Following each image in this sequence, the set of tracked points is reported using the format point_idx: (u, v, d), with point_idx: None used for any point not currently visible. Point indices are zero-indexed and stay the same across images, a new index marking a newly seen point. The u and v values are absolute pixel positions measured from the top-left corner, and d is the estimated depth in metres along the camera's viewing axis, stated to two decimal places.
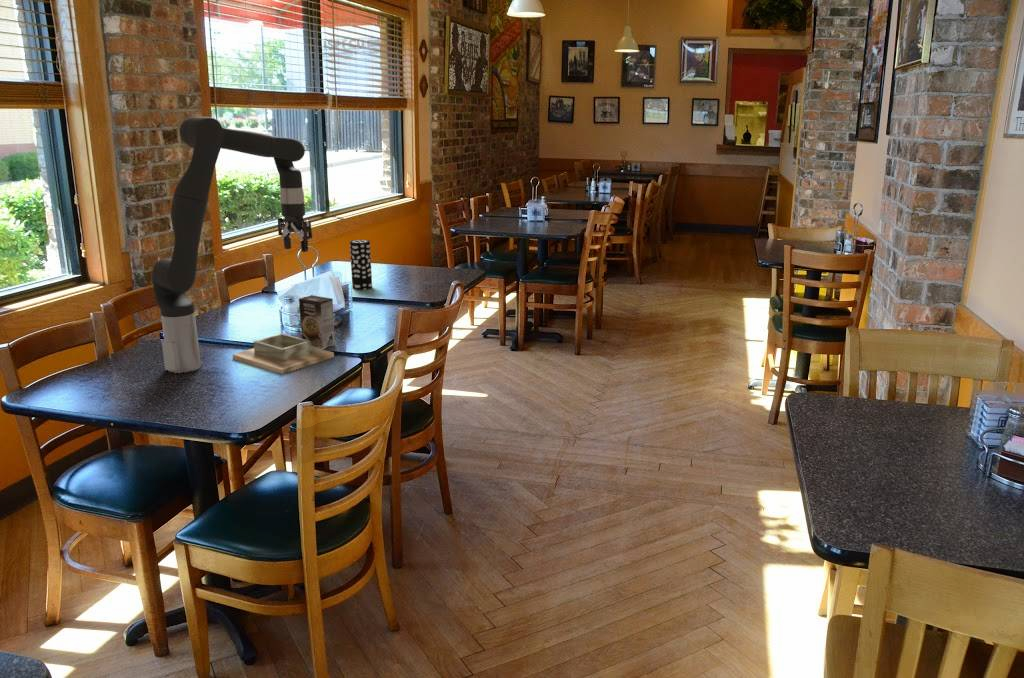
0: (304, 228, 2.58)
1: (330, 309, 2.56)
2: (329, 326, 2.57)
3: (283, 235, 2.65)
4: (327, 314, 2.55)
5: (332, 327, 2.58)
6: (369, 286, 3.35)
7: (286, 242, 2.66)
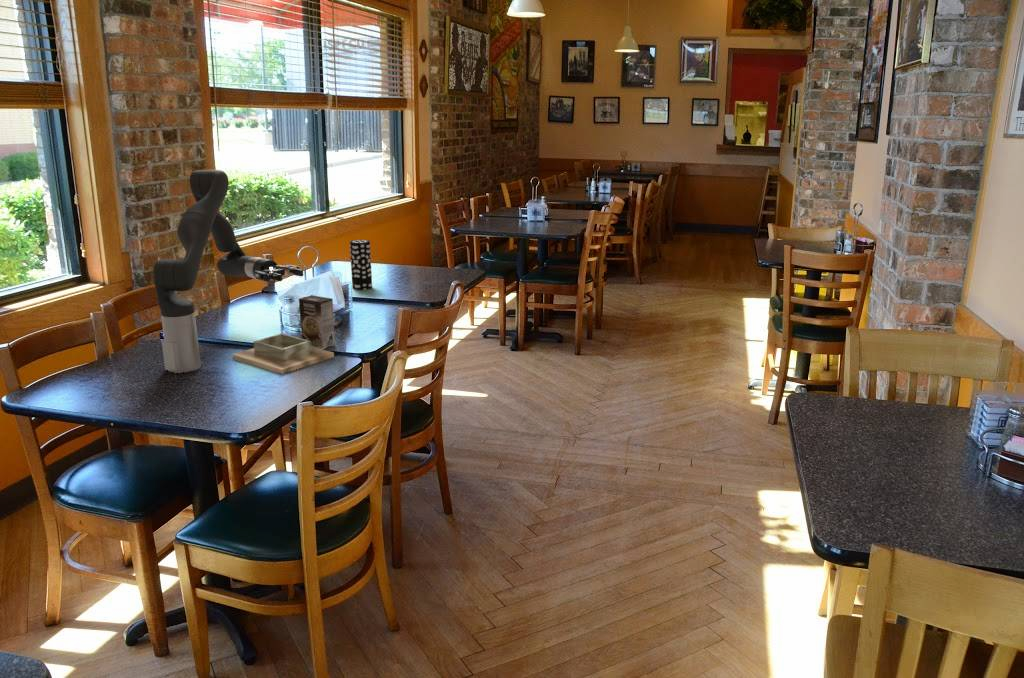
0: (291, 265, 2.69)
1: (330, 309, 2.56)
2: (329, 326, 2.57)
3: None
4: (327, 314, 2.55)
5: (332, 327, 2.58)
6: (369, 286, 3.35)
7: None
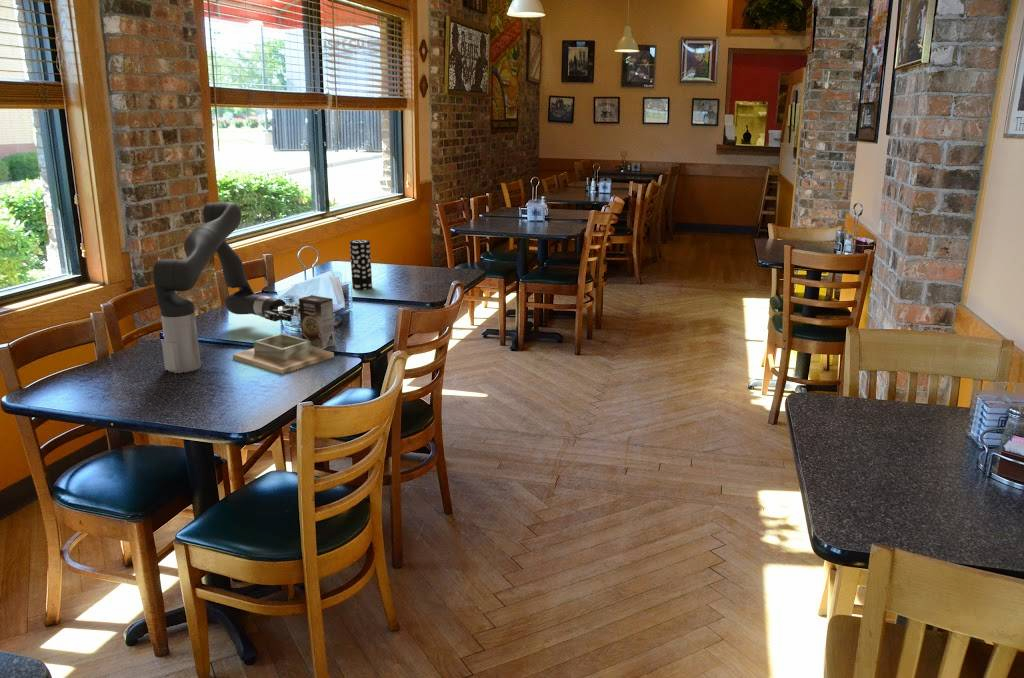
0: None
1: (330, 309, 2.56)
2: (329, 326, 2.57)
3: (280, 312, 2.61)
4: (327, 314, 2.55)
5: (332, 327, 2.58)
6: (369, 286, 3.35)
7: None
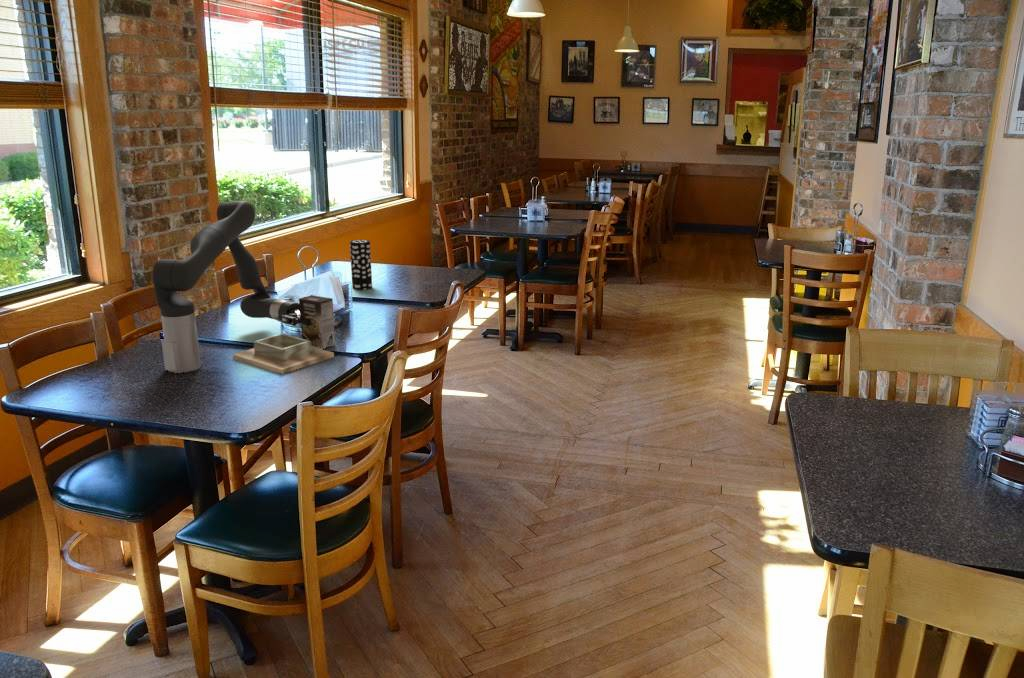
0: None
1: (330, 309, 2.56)
2: (329, 326, 2.57)
3: (299, 316, 2.56)
4: (327, 314, 2.55)
5: (332, 327, 2.58)
6: (369, 286, 3.35)
7: None
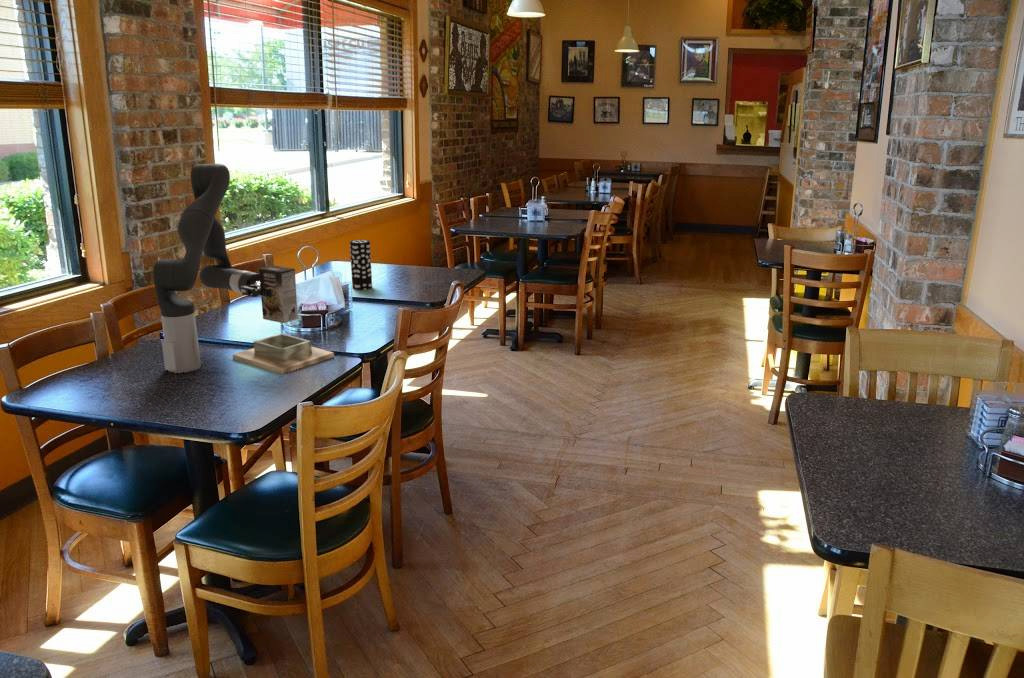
0: None
1: (292, 279, 2.40)
2: (291, 298, 2.41)
3: None
4: (289, 285, 2.39)
5: (295, 299, 2.42)
6: (369, 286, 3.35)
7: None
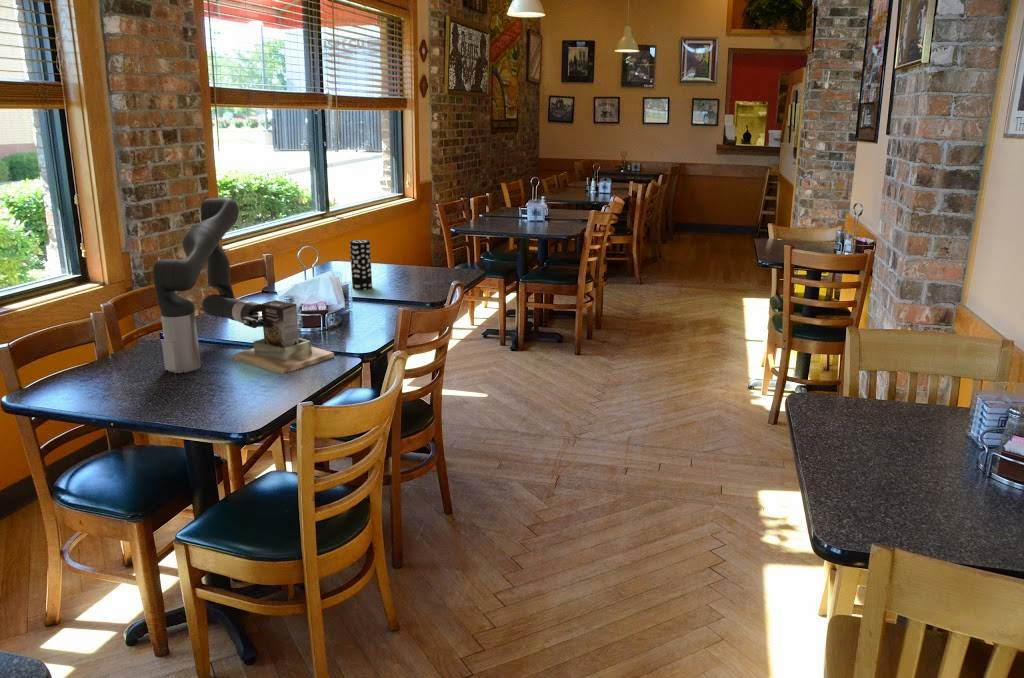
0: None
1: (294, 315, 2.43)
2: (293, 333, 2.44)
3: None
4: (291, 320, 2.42)
5: (296, 334, 2.46)
6: (369, 286, 3.35)
7: None
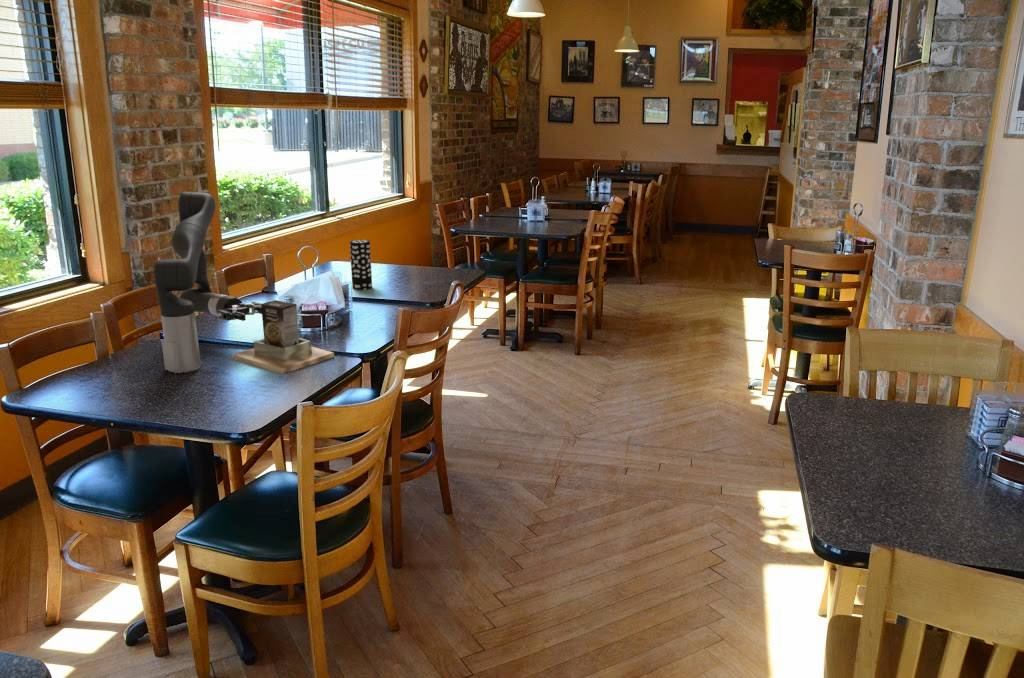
0: (256, 302, 2.60)
1: (294, 315, 2.43)
2: (293, 333, 2.44)
3: (234, 311, 2.50)
4: (291, 320, 2.42)
5: (296, 334, 2.46)
6: (369, 286, 3.35)
7: None
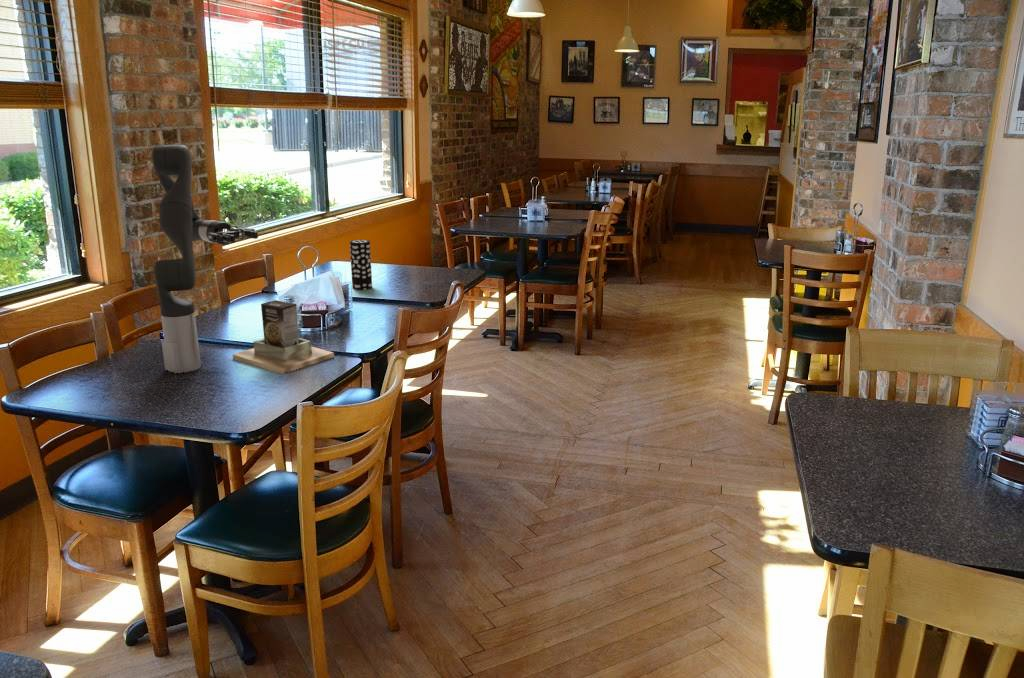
0: (246, 228, 2.64)
1: (294, 315, 2.43)
2: (293, 333, 2.44)
3: (224, 233, 2.54)
4: (291, 320, 2.42)
5: (296, 334, 2.46)
6: (369, 286, 3.35)
7: None
